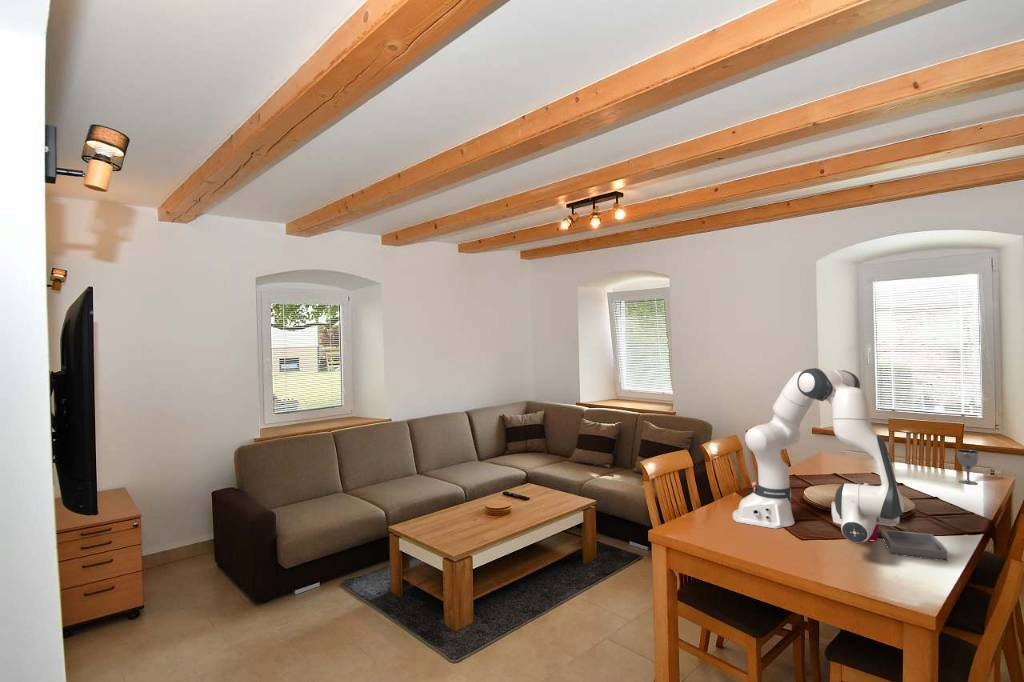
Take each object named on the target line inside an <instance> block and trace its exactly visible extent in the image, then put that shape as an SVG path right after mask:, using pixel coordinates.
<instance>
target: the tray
mask: <svg viewBox="0 0 1024 682" xmlns="http://www.w3.org/2000/svg"><path fill="white" fill-rule="evenodd" d="M881 537H883V538H882V540H883V539H884V540H885V541H884V540H883V541H884V543H885V542H886V543H885V545H886V544H887V545H886V547H887V546H888V547H887V549H888V548H889V549H888V550H889V552H890V554H891V555H895V554H897V555H898V556H903V555H906V556H905V557H911V556H913V558H920V557H921V559H928V558H929V560H930V559H931V560H936V559H937V561H939V560H940V561H945V562H948V551H946V549H945V548H944V547H943V545H941V543H940V542H939V540H938V539H937V538H936V536H935V535H934V534H931V533H922V532H910V531H903V530H894V529H884V528H883V529H881ZM897 555H896V556H897Z"/></svg>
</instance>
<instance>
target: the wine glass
mask: <svg viewBox="0 0 1024 682" xmlns="http://www.w3.org/2000/svg"><path fill="white" fill-rule="evenodd" d="M956 456H957V460H958V462H959V464H960V465H961V466H962V467H963V468H964V470H965V472H966V479H965V480H958V483H960V484H964V485H970V486H975V485H976V486H977V485H979V483H978V482H976V481H973V480H972V481H971V479H970V473H971V472H970V471H971V470H972V469H973V468H974V467H976V466H977V465H978V462H979V459H980V452H979V451H978V450H974V449H967V448H962V449H961V448H959V449H956Z"/></svg>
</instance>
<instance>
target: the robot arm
mask: <svg viewBox="0 0 1024 682" xmlns="http://www.w3.org/2000/svg"><path fill="white" fill-rule="evenodd" d="M815 400H816V401H817V400H818V401H820V402H824V401H827V402H828V403H829V404H830V406H831V411H832V412H831V414H832V427H833V428H832V430H833V433H834V435H835V437H836V438H837V439H838V440H839V441H840V442H841V443H842V444H845V445H846V446H848V447H851V448H853V449H856V450H859V451H862V452H865V453H866V454H868V455H869V456H871V457H872V458H873V460H874V461H875V463H876V467H877V468H876V469H877V471H878V474H879V478H880V479H879V480H880V482H881V484H880V485H870V484H869V485H863V484H860V483H847V482H845V483H842V484H841V485H840V486H839V487H838V488H837V489H836V492H835V495H834V501H832V502H831V503H830V504H831V517H832V522H833V523H834V524H837V525H840V530H841V533H842V535H843V536H844V538H846V539H847V540H849V541H850V542H852V543H858V544H859V543H865V542H868V541H867V540H868V539H869V538H870V537H871V535H872V533H873V531H874V529H875V526H876V524H878V525H879V526H880V525H881V526H888V527H896V526H897V525H899V524H900V519H901V518H900V516H902V515H903V514H904V510H905V502H904V499H903V496H902V493H901V492H900V490H899V489H900V488H899V487H898V486H899V485H898V483H897V480H896V479H897V478H896V475H895V472H894V468H893V465H892V462H891V456H890V453H889V450H888V447H887V444H886V442H885V440H884V438H883V437H882V436H881V435H878V434H877V433H876V431H875V430H874V428H873V426H872V425H873V424H872V421H871V411H870V406H869V401H868V397H867V395H866V393H865V391H864V390H863V389H861V382H860V380H859V377H857V375H855V374H854V373H852V372H850V371H848V370H842V369H841V370H840V369H835V368H817V367H813V368H806V369H805V370H799V371H797V372H796V373H794V374H793V375H792V376H791V378H790V379H789V380H788V381H787V382H786V384H785V385H784V387H782V390H781V392H780V393H779V395H778V396H777V399H776V400H775V402H774V404H773V405H772V412H773V413H774V414H773V416H772V419H771V420H770V421H769V422H768V423H767V422H766V423H763V424H758V425H755V426H752V428H750V429H748V430H747V431H746V432H745V435H744V436H745V437H744V441H745V444H746V447H747V448H748V449H749V450H750V451H751V452H752V453H753V455H754V457H755V460H756V465H757V476H758V483H757V482H756V481H753V482H752V483H751V487H752V492H751V493H750V494H749V495H746V496H745V497H743V498H742V499H741V500H740V502H739V504H738V507H737V508H738V509H736V510H734V511H733V512H732V520H734V521H735V522H736V523H741V524H747V525H752V526H757V527H765V528H770V529H776V530H777V529H780V528H785V527H791V526H793V525H794V524H795V523H796V522H795V519H794V516H793V511H792V505H791V501H792V490H791V486H790V468H789V465H788V464H787V463H786V462H784V460H783V457H782V452H781V451H782V450H785V449H790V448H791V447H793V446H794V445H795V444H798V442H799V441H800V439H801V431H800V426H801V423H802V421H803V420H804V417H805V416H806V414H807V413H808V411H809V410H810V408H811V406H812V404H813V403H814V401H815Z"/></svg>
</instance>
